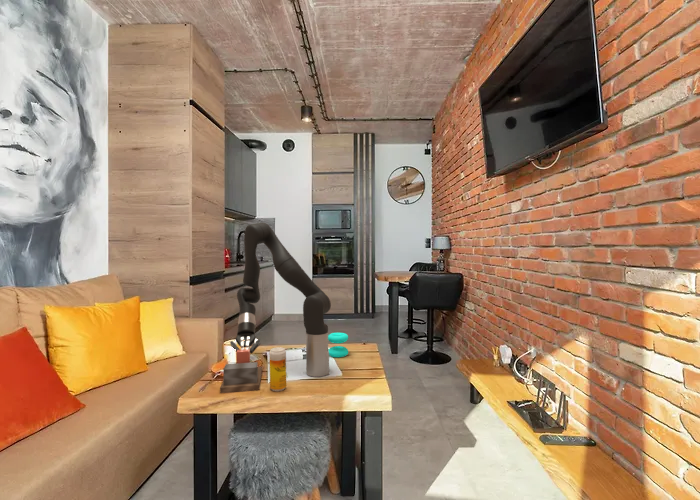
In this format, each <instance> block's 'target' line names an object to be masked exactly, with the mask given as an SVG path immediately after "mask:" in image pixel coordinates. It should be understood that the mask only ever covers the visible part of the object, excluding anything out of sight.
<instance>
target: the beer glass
mask: <svg viewBox="0 0 700 500" xmlns="http://www.w3.org/2000/svg"><path fill="white" fill-rule="evenodd" d="M268 357H269V389H271V391H272V392H282V391H284V390H285V389H286V388H287V351H286V348H284V347H280V346H279V347H278V346H277V347H273V348H270V351H269V356H268Z"/></svg>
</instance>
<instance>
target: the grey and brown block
mask: <svg viewBox="0 0 700 500" xmlns="http://www.w3.org/2000/svg"><path fill="white" fill-rule="evenodd" d="M262 374H263V366H259V364H258V362H257V361H254V362H251V361H250V363H237V362H236V363H226V364H225V365H224V367H223V380H222V382H221V385H220V387H219V394H226V393H240V392H250V391H251V392H252V391H253V392H254V391H260V389H261V382H262Z"/></svg>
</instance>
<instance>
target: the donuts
mask: <svg viewBox="0 0 700 500" xmlns="http://www.w3.org/2000/svg"><path fill="white" fill-rule="evenodd" d="M348 340H349V334H347V333H345V332H331V333H328V342H330V343H333V344H343V343H345V342H347V341H348ZM328 351H329V357H332V358H344V357H346V356H348V354H349V349H348V348H347V347H346V346H342V345H335V346H332V347H329V348H328Z"/></svg>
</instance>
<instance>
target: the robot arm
mask: <svg viewBox="0 0 700 500" xmlns="http://www.w3.org/2000/svg"><path fill="white" fill-rule="evenodd" d="M243 238H244V240H243V242H244V270H243V271H244V272H243V278H242V279H243V280H242V283H243V284H244V286H247V287H241V288H239V289H238V290H237V293H236V298H237V302H238V305H239V315H238V319H237V329H236V330H237V331H236V332H237V333H236V336H235V339H234V340H235V341H234V340H231V341H230V346H231V348H232V347H233V348H234V349H236V351H235V352H237V350H245V349H250V354H253V353H254V352H255V351H256V350H257V348H258V347H259V346H260V345H261V339H257V336H256V325H257V324H256V323H257V322H256V321H257V320H256V309H257V308H256V306H255V305H254V304H256V303H258V302H259V301H260V300H261V292H260V286H259V280H260V273H261V267H260V265H261V264H260V261H259V260H258V257H257V247H258V245H260V244H264V245H265V246H266V247H267V248H268V250H269V251H270V253H271V255H272V256H271V257H272V263H273V267H274V269H275V271H276V272H277V273H278V275H279V277H281V278H282V280H284V281H285V282H286V283H287V284H288V285H290V286H292V287H293V288H295V289H297V290H298V291H299V292H301V294H303V296H304V297H305V298H304V301H303V305H302V313H303V326H304V328H305V354H306V355H305V358H306V359H305V360H306V361H305V362H306V368H305V370H306V372H305V373H306V375H307V376H309V377H315V378H316V377H318V378H320V377H324V376H326V375H330V355H329V351H328V350H329V340H328V335H329V327H328V324H327V323H325V321H324V320H325V319H324V315H325V314H327V313H328V312H330V310H331V306H332V304H331V303H332V302H331V300H330V298H329V297H328V295H327V293H325V292H324V291H323V290H322V289H321V288H320V287H319V286H318V285H316V283H315V282H314V280H312V278H311V277H310V276H309V275H308V273H307V272H306V271H305V270H304V269H303V268H302V266H301V265H300V264H299V262H298V261H297V260H296V259H295V257H293V256H292V255H291V253H290V252H289V251H288V249H287V248H286V247H285V246H284V244H283V243H282V242H281V241H280V239H279V238H278V236H277V235H276V233H275V231H274V230H273V228H272V227H271V226H270V225H269V224H268V223H267V222H256V223H250V224H248V225H247V226H246V227H245V228H244V237H243ZM243 340H245V341H243ZM238 346H239V347H238ZM233 348H232V349H233ZM234 349H233V350H234Z"/></svg>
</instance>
